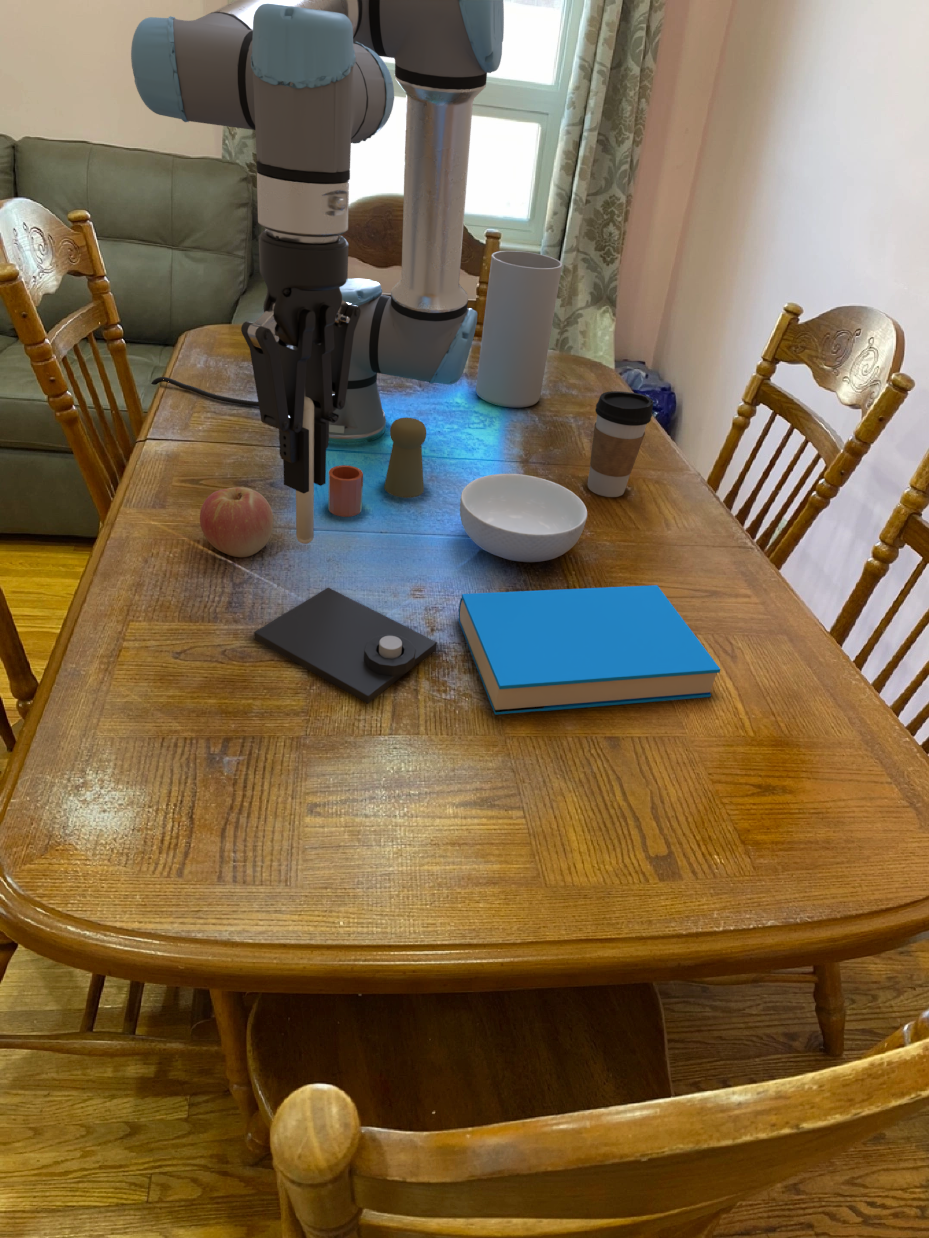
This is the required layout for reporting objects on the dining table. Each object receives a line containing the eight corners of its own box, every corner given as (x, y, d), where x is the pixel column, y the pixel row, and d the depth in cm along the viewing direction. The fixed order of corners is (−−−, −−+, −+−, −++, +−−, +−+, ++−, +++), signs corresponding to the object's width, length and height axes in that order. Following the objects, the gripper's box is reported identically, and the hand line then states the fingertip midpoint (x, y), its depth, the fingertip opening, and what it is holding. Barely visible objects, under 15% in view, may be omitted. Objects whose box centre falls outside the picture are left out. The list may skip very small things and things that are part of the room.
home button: (374, 652, 87) (374, 642, 86) (388, 642, 89) (388, 632, 88) (392, 662, 86) (392, 652, 85) (405, 651, 88) (406, 641, 87)
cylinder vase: (550, 397, 161) (574, 262, 146) (519, 414, 152) (541, 272, 137) (496, 380, 166) (513, 248, 151) (463, 395, 157) (478, 256, 142)
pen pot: (321, 511, 114) (321, 472, 111) (343, 500, 118) (344, 462, 114) (346, 523, 113) (347, 483, 109) (368, 511, 116) (370, 473, 112)
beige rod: (292, 543, 87) (290, 396, 78) (304, 536, 88) (304, 392, 79) (305, 549, 86) (304, 402, 77) (317, 542, 87) (318, 397, 78)
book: (722, 669, 88) (501, 685, 81) (710, 699, 91) (495, 717, 84) (655, 581, 101) (459, 588, 95) (646, 609, 104) (455, 618, 97)
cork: (431, 489, 124) (437, 420, 117) (412, 504, 119) (418, 433, 113) (395, 478, 125) (400, 409, 119) (376, 493, 121) (379, 422, 114)
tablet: (254, 640, 90) (253, 621, 88) (328, 594, 98) (328, 577, 97) (372, 707, 83) (373, 688, 82) (441, 652, 92) (443, 634, 90)
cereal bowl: (492, 590, 103) (499, 542, 99) (434, 527, 114) (439, 481, 110) (602, 568, 110) (613, 522, 106) (537, 510, 122) (545, 466, 118)
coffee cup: (631, 505, 127) (655, 412, 118) (577, 495, 127) (596, 402, 119) (633, 482, 133) (655, 393, 125) (581, 472, 134) (600, 383, 125)
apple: (239, 575, 100) (236, 517, 95) (187, 550, 103) (181, 492, 98) (288, 548, 106) (287, 492, 101) (237, 524, 109) (234, 469, 105)
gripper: (273, 251, 63) (279, 522, 76) (392, 233, 73) (379, 474, 87) (205, 231, 66) (222, 495, 79) (329, 216, 76) (326, 451, 90)
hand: (304, 483), depth 83 cm, fingers closed on beige rod, 2 cm apart
